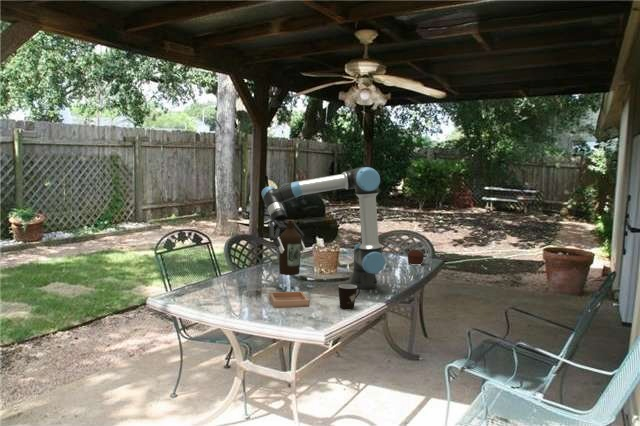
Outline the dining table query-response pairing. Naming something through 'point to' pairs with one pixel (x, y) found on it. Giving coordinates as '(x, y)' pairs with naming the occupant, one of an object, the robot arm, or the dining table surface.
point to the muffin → (415, 257)
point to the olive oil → (290, 251)
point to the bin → (288, 299)
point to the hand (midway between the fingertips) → (293, 250)
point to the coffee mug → (347, 295)
